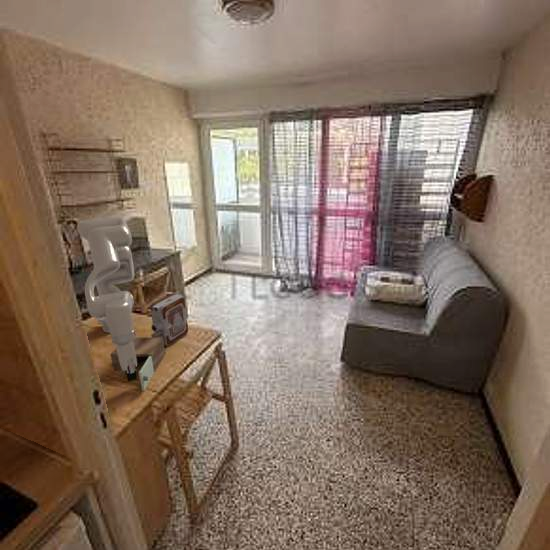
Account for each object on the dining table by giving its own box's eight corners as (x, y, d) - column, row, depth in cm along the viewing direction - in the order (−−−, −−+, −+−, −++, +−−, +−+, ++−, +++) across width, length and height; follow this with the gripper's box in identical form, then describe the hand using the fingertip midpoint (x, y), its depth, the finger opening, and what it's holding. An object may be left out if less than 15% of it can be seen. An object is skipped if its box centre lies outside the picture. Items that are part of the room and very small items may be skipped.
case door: (147, 390, 117) (144, 372, 114) (142, 390, 117) (138, 372, 114) (157, 372, 126) (154, 356, 123) (152, 372, 126) (149, 356, 123)
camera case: (114, 371, 127) (110, 354, 125) (128, 353, 139) (124, 337, 136) (154, 371, 127) (151, 354, 124) (165, 354, 138) (162, 337, 135)
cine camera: (144, 349, 142) (136, 307, 135) (176, 329, 158) (171, 291, 151) (159, 355, 138) (152, 312, 131) (191, 333, 154) (186, 294, 147)
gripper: (108, 328, 115) (117, 372, 122) (115, 349, 103) (125, 395, 110) (130, 323, 119) (138, 365, 126) (139, 341, 107) (148, 387, 114)
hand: (132, 379), depth 118 cm, fingers closed
